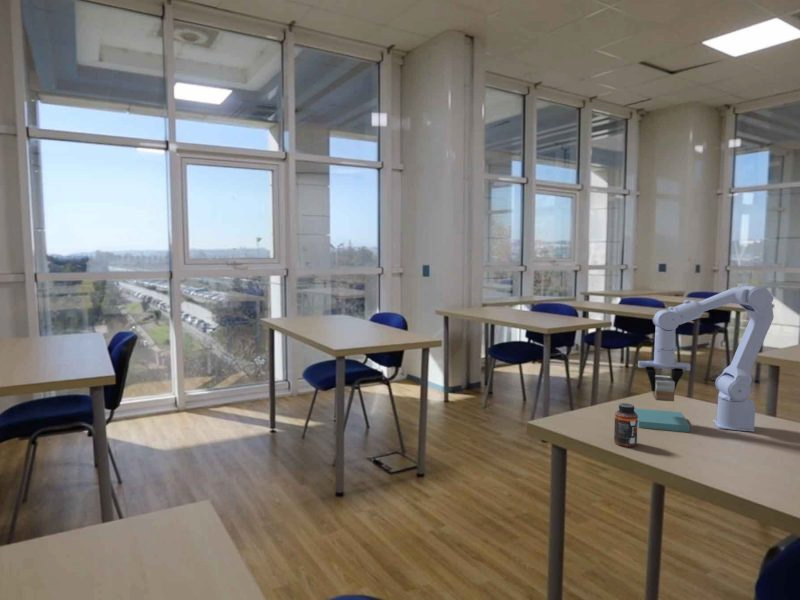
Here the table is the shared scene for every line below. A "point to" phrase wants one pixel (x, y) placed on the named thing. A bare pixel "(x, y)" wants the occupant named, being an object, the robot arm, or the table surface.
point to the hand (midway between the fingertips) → (662, 391)
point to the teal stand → (662, 420)
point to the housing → (664, 388)
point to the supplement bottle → (626, 425)
